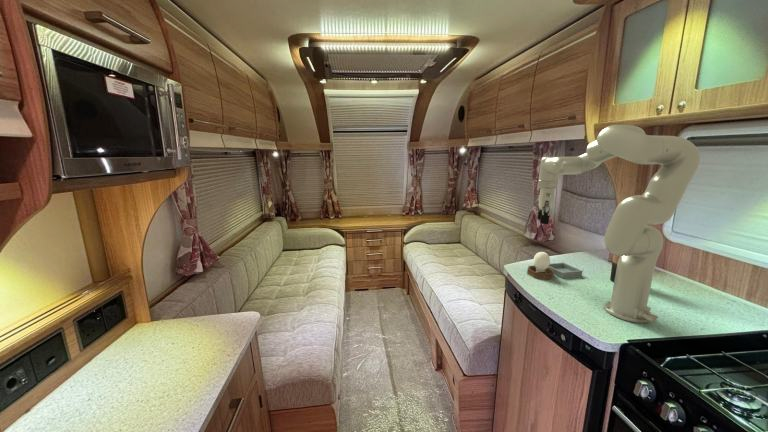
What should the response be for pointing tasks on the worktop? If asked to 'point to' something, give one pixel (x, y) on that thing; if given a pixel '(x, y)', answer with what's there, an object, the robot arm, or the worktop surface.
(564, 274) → the tray
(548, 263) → the light bulb
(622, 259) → the robot arm
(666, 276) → the worktop surface
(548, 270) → the holder ring
